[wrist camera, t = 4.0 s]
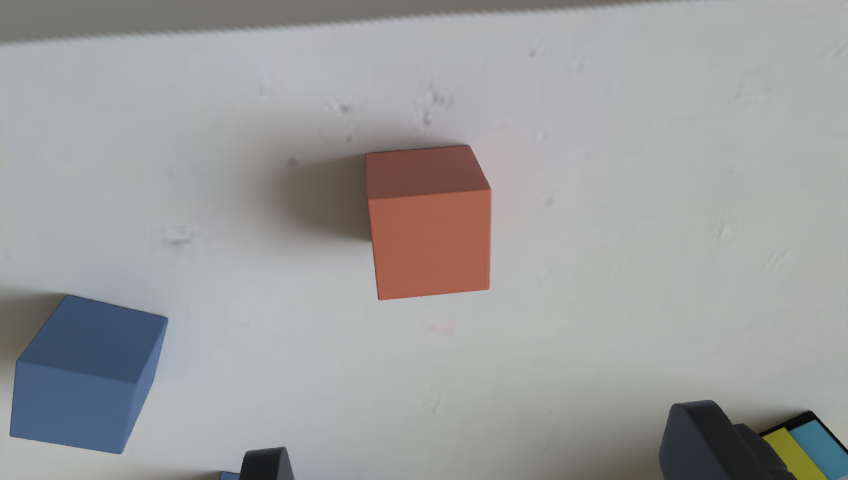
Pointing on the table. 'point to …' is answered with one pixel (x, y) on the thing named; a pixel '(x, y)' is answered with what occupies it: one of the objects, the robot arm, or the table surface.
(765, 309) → the table surface
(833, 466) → the carton
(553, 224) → the table surface
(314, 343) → the table surface
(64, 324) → the slate-blue block
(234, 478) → the slate bin
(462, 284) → the terracotta block
